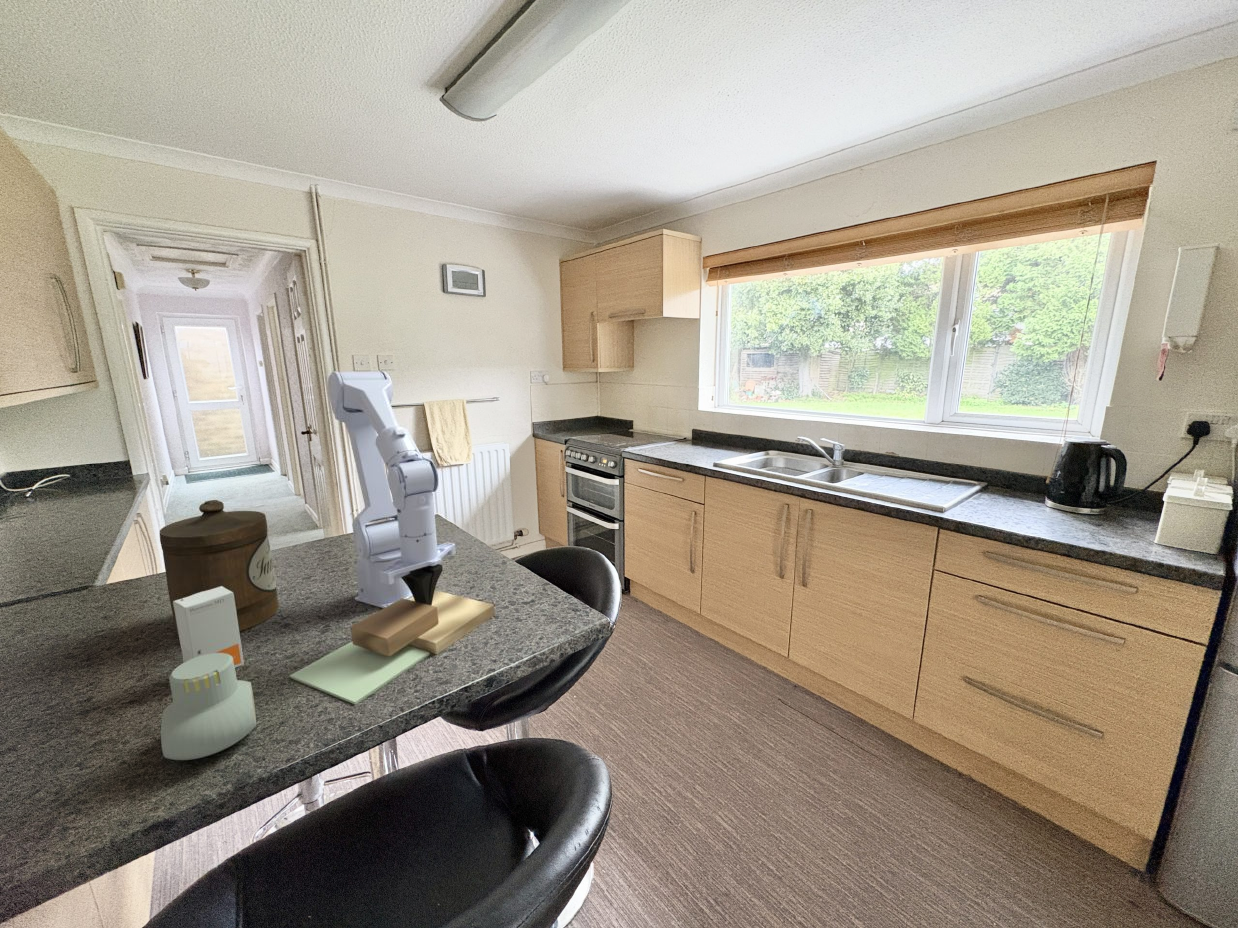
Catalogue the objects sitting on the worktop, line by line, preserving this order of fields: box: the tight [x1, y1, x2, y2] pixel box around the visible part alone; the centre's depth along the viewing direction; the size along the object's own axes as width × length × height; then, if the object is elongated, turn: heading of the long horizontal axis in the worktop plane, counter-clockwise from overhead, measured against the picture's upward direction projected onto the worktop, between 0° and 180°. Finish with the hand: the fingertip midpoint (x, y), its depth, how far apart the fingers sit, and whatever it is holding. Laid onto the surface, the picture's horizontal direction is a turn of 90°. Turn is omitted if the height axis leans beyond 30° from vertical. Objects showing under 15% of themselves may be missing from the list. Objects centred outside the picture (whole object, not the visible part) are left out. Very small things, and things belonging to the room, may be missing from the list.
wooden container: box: [159, 499, 279, 636], centre depth 88 cm, size 15×15×22 cm
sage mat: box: [289, 640, 431, 706], centre depth 75 cm, size 14×13×1 cm
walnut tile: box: [349, 598, 439, 656], centre depth 81 cm, size 8×10×3 cm
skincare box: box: [173, 586, 245, 669], centre depth 74 cm, size 6×4×12 cm
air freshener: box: [160, 653, 257, 761], centre depth 60 cm, size 11×8×10 cm
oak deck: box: [407, 589, 496, 656], centre depth 88 cm, size 16×14×2 cm
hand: (424, 607), depth 86 cm, fingers closed
